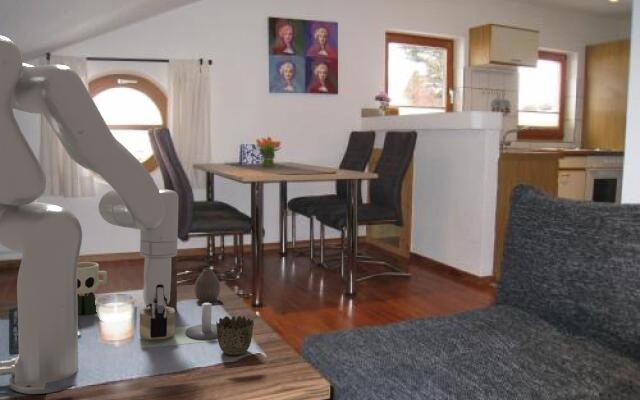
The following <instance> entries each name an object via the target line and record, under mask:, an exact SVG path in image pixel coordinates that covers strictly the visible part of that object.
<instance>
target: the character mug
mask: <svg viewBox="0 0 640 400" xmlns="http://www.w3.org/2000/svg"><path fill="white" fill-rule="evenodd" d="M99 267H100V264H99V263H97V262H94V261H93V262H91V261H82V262H79V261H78V269H77V302H78V317H79V316H91V315H97V314H98V311H97V312H96V306H97V304H96V305H95V300H96V296H95V293H94V292H96V291H97V290H98V289H99V286H100V285H106V284H108V272H107V270H100V268H99ZM100 276H102V280H100V278H99V277H100Z"/></svg>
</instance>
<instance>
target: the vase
mask: <svg viewBox="0 0 640 400" xmlns="http://www.w3.org/2000/svg"><path fill="white" fill-rule="evenodd" d="M220 293H221V283H220V280H219V278H218V277H217V275H216V274H215V272H214V270H213V269H211V268H204V269H202V272H201V274H200V275H199V276H198V277H197V278H196V280H195V284H194V294H195V297H196V299H197V300H198V301H199V302H200V303H202V304H203V303H210V302H211V303H214V302H215V301H217V299H218V298H219V296H220Z"/></svg>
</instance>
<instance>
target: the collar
mask: <svg viewBox="0 0 640 400" xmlns="http://www.w3.org/2000/svg"><path fill="white" fill-rule="evenodd" d="M156 308H157V307H155V309H156ZM166 317H167V335H166V336H165V337H153V338H152V337H151V336H150V328H151V318H152V307H147V308H146V307H143V308H142V309H141V308H140V309H139V330H138V335H139V334H140V337H141V338H146V339H150V340H153V339H166V338H168V337H170V336H173V335H175V327H176V312H175V310H174V308H171V307H166ZM140 337H139V338H140Z"/></svg>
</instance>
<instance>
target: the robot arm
mask: <svg viewBox="0 0 640 400" xmlns="http://www.w3.org/2000/svg"><path fill="white" fill-rule="evenodd" d="M14 109H15V110H18V111H20V112H25V113H30V114H37V115H38V114H40V115H41V114H42V115H43V116H44V118H45V119H46V121H47V123H48V124H49V126H50V128H51V129H52V130H53V132H54V133H55V135H56V137H57V138H58V140H59V142H60V143H61V145H62V146H63V148H64V150H65V152H66V153H67V155H68V156H69V158H70V159H71V160H73V162H74V163H76V164H78V165H79V166H80V167H82V168H84V169H86V170H87V171H89V172H91V173H92V174H94V175H96V176H98V177H99V178H101V179H102V180H104V181H105V182H106V183H107V184H108V185H109V186H111V188H112V189H111V190H109V191H107V192H106V193H105V194H103V195H102V196H101V198H100V200H99V203H98V211H99V214H100V217H101V218H102V220H103V221H105V222H107V223H108V224H110V225H113V226H117V227H122V228H128V229H134V230H139V231H140V235H139V237H140V239H139V241H140V242H139V246H140V247H139V256H140V257H142V258H144V263H143V265H144V266H143V291H142V292H143V293H142V295H143V302H144V304H145V306H146V305H149V307H152V318H151V328H150V336H151V337H152V338H153V337H165V336H166V335H167V317H166V304H168V303H169V301H170V289H171V257H174V256H176V255H177V256H178V240H177V238H178V237H179V235H178V234H179V233H178V230H179V226H178V225H179V194H178V193H177V192H176V191H175V190H173V189H172V190H171V189H163V188H162V189H161V188H159V187H158V185H157V184H156V182H155V180H154V178H153V177H152V175H151V174H150V172H149V171H148V169H147V168H146V167H145V166H144V165H143V163H141V162H140V160H138V158H137V157H136V156H134V155H133V153H131V151H130V150H128V149H127V148H126V147H125V146H124V145H123V144H122V143H121V142H120V141H118V139H116V137H115V136H114V134H113V133H112V132H111V130H110V128H109V125H107V122H106V121H105V119H104V117H103V115H102V114H101V111H100V110H99V107H98V106H97V105H96V103H95V101H94V99H93V98H92V96H91V94H90V92H89V90H88V89H87V87H86V85H85V83H84V82H83V80H82V78H81V76H80V75H79V74H78V73H77V71H76V70H74V69H73V68H71V67H70V66H67V65H62V64H42V65H36V66H34V65H32V64H28V63H25V59H24V56H23V54H22V51H21V49H20V48H19V46H18V45H17V44H16V43H15V42H14V41H13V40H12V39H10V38H8V37H6V36H3V35H0V244H1V246H3V247H5V248H6V249H8V250H11V251H13V252H16V253H20V254H22V256H21V257H22V258H21V262H20V265H19V269H18V273H17V274H18V275H17V279H16V280H17V283H16V291H17V292H16V295H17V298H16V299H17V328H18V329H17V330H18V331H17V332H18V355H17V357H12V358H11V360H10V359H8V360H0V377H1V376H5V375H6V376H7V375H10V376H9V381H8V383H9V384H8V386H9V388H10V389H11V390H13V391H15V392H17V393H20V394H27V395H41V394H51V393H56V392H61V391H64V390H68V389H70V388H74V387H75V386H76V384H71V385H70V384H69V385H64V386H63V385H61V386H52V387H46V386H47V383H53V382H58V381H63V380H65V379H67V378H69V377H72V376H73V375H75V374H76V373H78V370H79V333H78V332H79V331H78V330H79V329H78V328H79V325H78V324H79V319H78V317H79V316H78V302H77V269H78V262H79V260H80V259H79V258H80V252H81V246H82V244H83V243H82V242H83V241H82V240H83V231H82V225H81V223H80V221H79V219H78V217H77V216H76V214H74V213H73V212H72V211H71V210H69V209H67V208H66V207H63V206H60V205H56V204H52V203H47V202H38V200H39V199H40V198H41V197H42V196H43V194H44V193H45V191H46V188H47V177H46V174H45V171H44V169H43V166H42V165H41V163H40V161H39V159H38V158H37V156H36V155H35V153H34V151H33V149H32V148H31V147H32V146H30V144H29V142H28V140H27V138H26V137H25V135H24V133H23V131H22V129H21V128H20V125H19V123H18V121H17V118H16V116H15V113H14ZM155 307H157V308H156V309H155Z"/></svg>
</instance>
